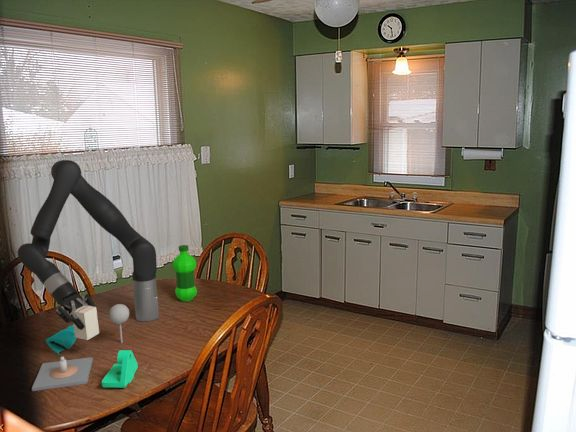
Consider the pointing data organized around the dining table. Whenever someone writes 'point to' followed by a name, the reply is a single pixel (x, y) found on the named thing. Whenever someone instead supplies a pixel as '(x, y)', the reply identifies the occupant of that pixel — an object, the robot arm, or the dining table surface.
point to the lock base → (63, 373)
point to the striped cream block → (87, 322)
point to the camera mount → (121, 370)
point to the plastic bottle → (185, 274)
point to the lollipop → (119, 315)
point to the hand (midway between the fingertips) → (89, 324)
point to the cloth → (62, 339)
